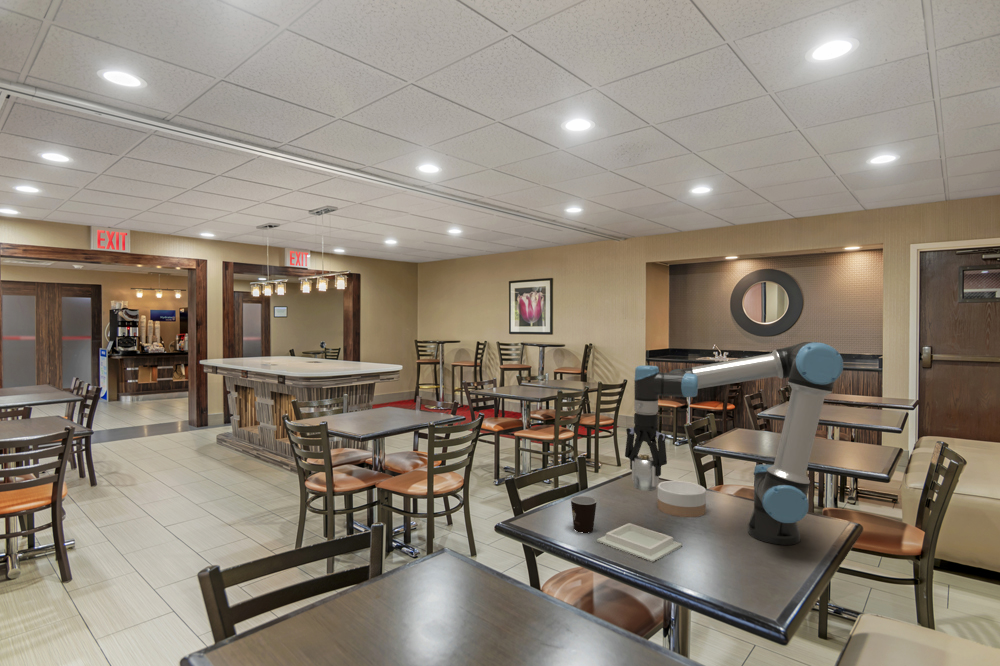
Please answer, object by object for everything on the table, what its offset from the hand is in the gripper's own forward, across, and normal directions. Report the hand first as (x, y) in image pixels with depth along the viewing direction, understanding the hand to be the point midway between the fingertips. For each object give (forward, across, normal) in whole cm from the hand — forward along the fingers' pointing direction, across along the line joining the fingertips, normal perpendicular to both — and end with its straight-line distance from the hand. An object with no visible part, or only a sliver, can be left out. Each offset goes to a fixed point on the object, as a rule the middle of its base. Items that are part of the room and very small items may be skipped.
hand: (645, 482), depth 170 cm
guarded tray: (+17, +3, -7) cm, 19 cm away
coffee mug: (+18, -17, -10) cm, 27 cm away
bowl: (+18, -5, +32) cm, 37 cm away
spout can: (+2, 0, 0) cm, 2 cm away
